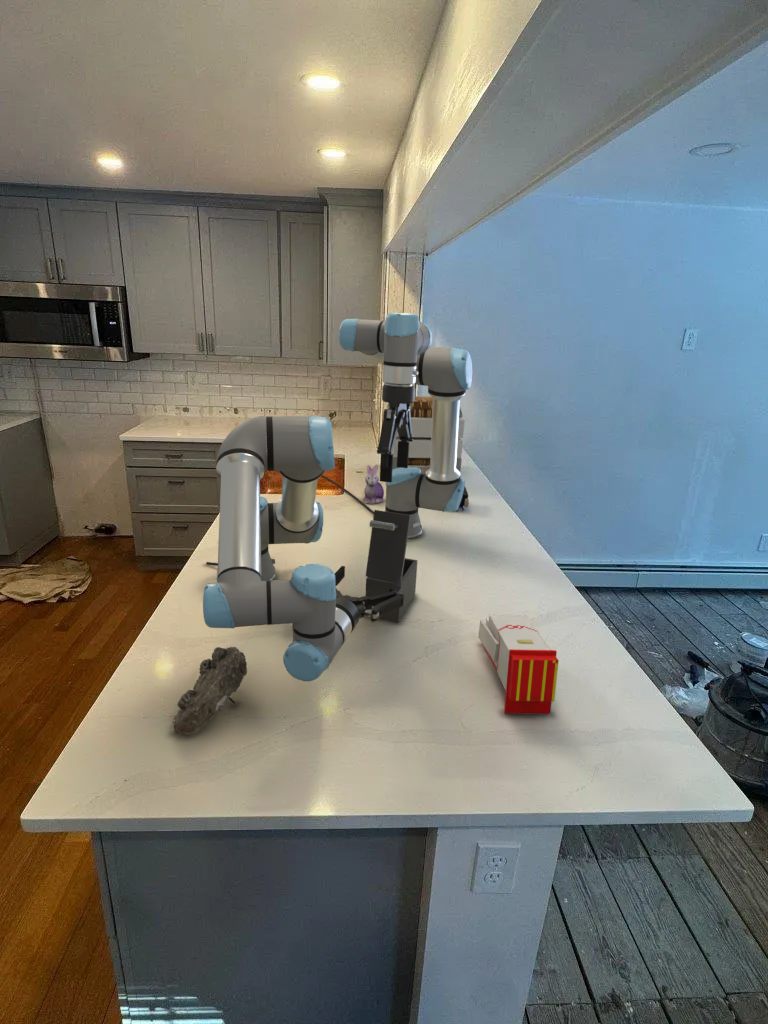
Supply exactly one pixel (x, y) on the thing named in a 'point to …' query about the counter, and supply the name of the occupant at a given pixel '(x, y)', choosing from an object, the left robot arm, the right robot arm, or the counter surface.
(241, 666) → the fossil
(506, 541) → the counter surface
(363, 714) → the counter surface
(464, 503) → the figurine character
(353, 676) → the counter surface
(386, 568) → the lid
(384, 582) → the chest
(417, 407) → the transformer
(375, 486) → the figurine
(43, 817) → the counter surface
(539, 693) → the toy
